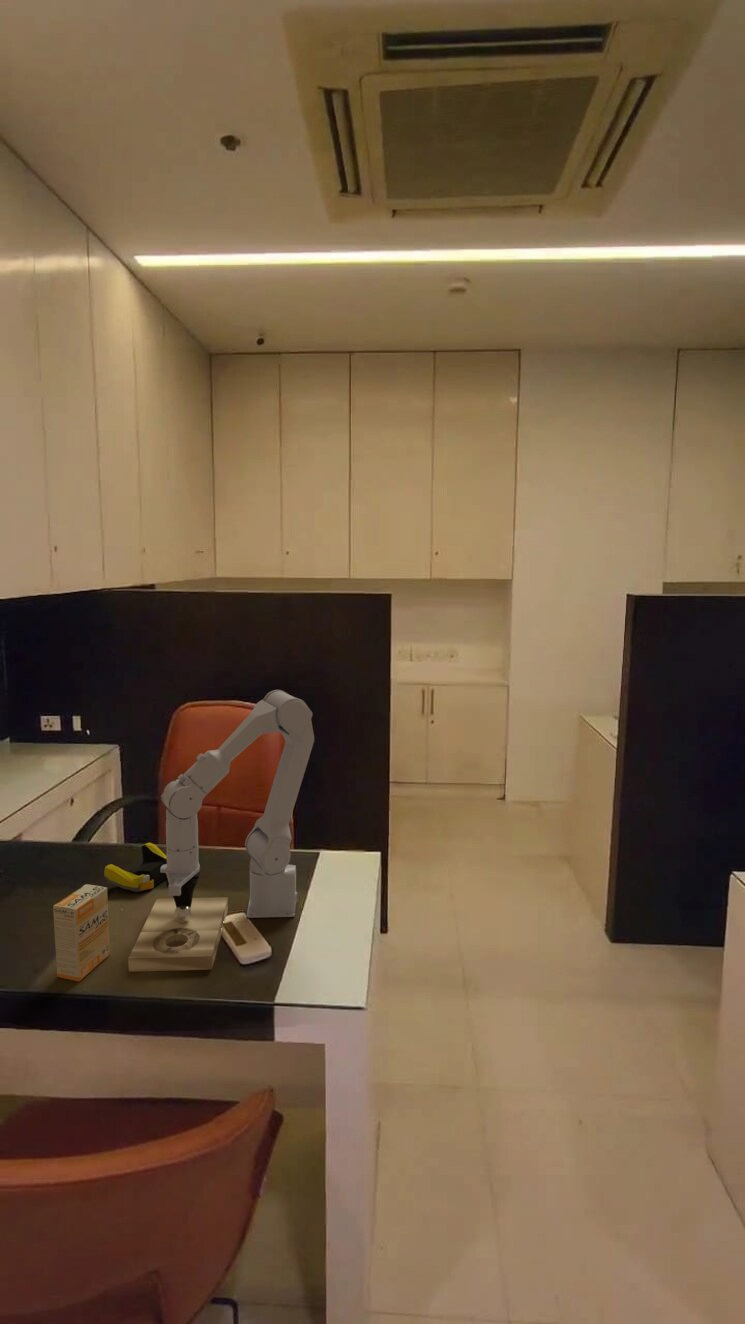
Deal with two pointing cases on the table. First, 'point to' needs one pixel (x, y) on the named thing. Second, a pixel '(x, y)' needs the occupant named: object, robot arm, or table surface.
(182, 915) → the ball
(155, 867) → the gaming controller
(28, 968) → the table surface
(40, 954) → the table surface
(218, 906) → the beige flat block
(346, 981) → the table surface
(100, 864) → the table surface
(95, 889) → the supplement box
